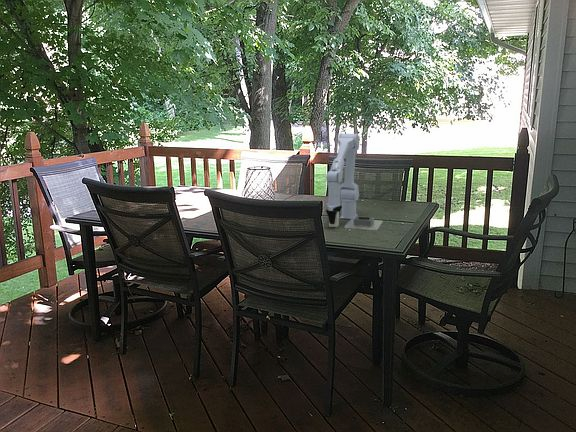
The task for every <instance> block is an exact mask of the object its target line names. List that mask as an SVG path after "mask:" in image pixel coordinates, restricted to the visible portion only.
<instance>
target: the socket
mask: <svg viewBox="0 0 576 432" xmlns="http://www.w3.org/2000/svg"><path fill="white" fill-rule="evenodd" d="M382 224H383V220H379V219H378V220H377V219H375V217H374V216H363V215H362V216H361V215H358V216H357V217H356V218H355V219H349V221H348V222H347V223H346V224H345V225H344V229H354V230H366V231H367V230H368V231H378V230H379V229H380V227H381V226H382Z"/></svg>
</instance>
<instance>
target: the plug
mask: <svg viewBox="0 0 576 432" xmlns="http://www.w3.org/2000/svg"><path fill="white" fill-rule="evenodd" d="M339 225H340V214H339V212H338V211H337V214H336V218H335V223H334V224H330V222H329V221H328V227H329V228H338V227H339Z"/></svg>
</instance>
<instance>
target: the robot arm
mask: <svg viewBox="0 0 576 432" xmlns="http://www.w3.org/2000/svg"><path fill="white" fill-rule="evenodd" d="M360 141H361V140H360V136H359V134H358V133H339V134H338V136H337V144H338V151H337V155H336V158H334V159H333V161H332V164H331V167H330V170H329V171H327V172H326V177H325V178H326V185H327V188H328V190H327V191H328V192H327V193H328V194H327V195H328V196H327V197H328V198H327V199H328V200H327V201H328V202H326V204H325V206H327V207H328V208H327V209H326V210H325V213H326V214H327V217H328V223H329V222H330V224H334V223H335V218H336V214H337V211H338V212H339V219H345V220H346V219H348V220H351V219H355V218H356V217H357V216H359V214H357V201H358V199H359V198H360V190H359V189H360V188H359V186H358V184H357V183H356V182H355V171H356V169H355V167H356V153H357V151H358V150H359V149H360V148H359V147H360ZM344 168H345V169H344ZM344 170H345V171H344ZM343 171H344V181H343V183H341V182H342V180H343ZM340 213H341V215H340Z"/></svg>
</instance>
